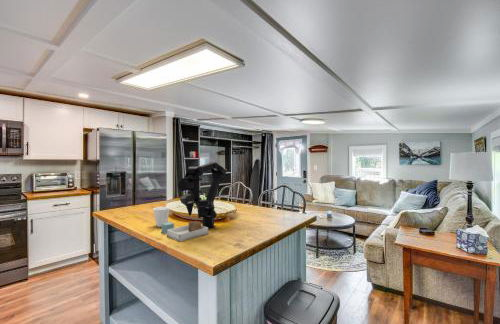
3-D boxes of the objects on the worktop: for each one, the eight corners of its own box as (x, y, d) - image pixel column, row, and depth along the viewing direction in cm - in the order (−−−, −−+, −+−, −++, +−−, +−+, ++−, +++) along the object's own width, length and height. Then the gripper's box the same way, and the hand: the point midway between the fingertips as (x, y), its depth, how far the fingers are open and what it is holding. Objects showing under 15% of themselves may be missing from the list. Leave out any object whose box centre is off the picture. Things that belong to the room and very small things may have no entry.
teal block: (169, 230, 148) (169, 222, 148) (174, 232, 144) (173, 223, 144) (161, 232, 144) (161, 223, 144) (165, 234, 141) (165, 225, 140)
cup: (164, 228, 152) (164, 210, 151) (149, 227, 154) (149, 209, 153) (173, 224, 161) (172, 207, 161) (158, 223, 163) (158, 206, 163)
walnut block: (188, 231, 142) (188, 222, 142) (195, 229, 146) (195, 220, 146) (193, 233, 139) (193, 224, 138) (201, 231, 142) (201, 222, 142)
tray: (195, 229, 150) (195, 223, 150) (208, 233, 141) (208, 227, 141) (166, 236, 137) (166, 229, 137) (179, 241, 128) (179, 234, 128)
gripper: (173, 188, 142) (173, 216, 142) (191, 191, 129) (191, 222, 129) (190, 187, 150) (190, 213, 150) (209, 190, 137) (209, 218, 138)
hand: (194, 216), depth 142 cm, fingers open, 9 cm apart
